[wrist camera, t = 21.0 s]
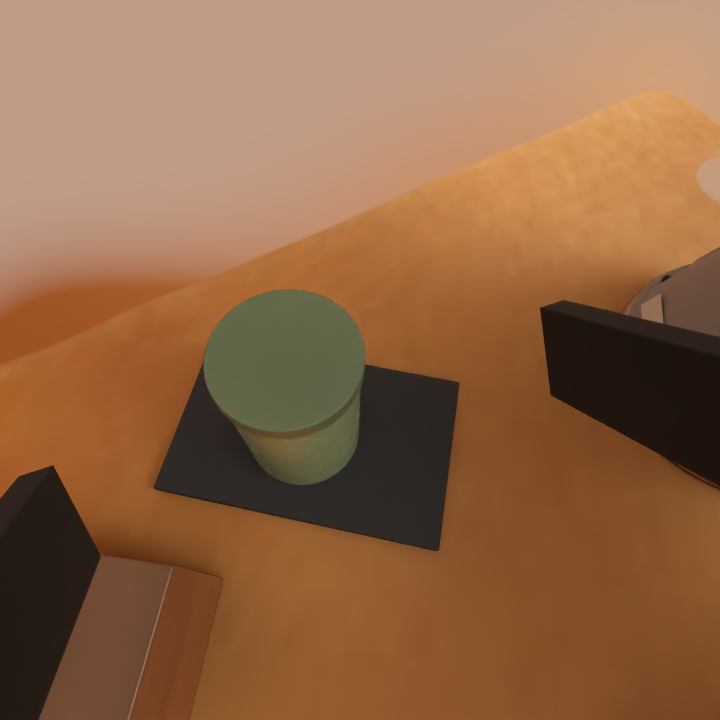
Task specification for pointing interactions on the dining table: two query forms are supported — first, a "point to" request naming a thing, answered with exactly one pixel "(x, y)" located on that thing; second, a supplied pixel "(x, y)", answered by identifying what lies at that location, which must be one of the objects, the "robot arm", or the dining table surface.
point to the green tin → (290, 382)
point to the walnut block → (135, 644)
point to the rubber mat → (353, 482)
